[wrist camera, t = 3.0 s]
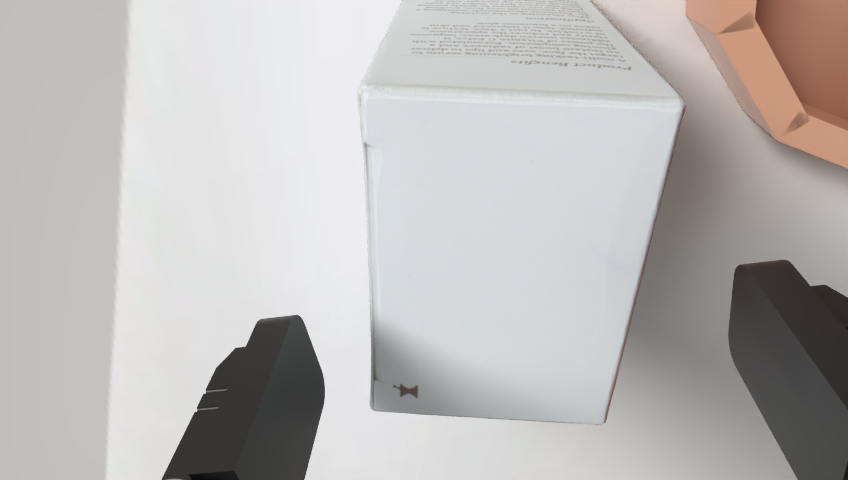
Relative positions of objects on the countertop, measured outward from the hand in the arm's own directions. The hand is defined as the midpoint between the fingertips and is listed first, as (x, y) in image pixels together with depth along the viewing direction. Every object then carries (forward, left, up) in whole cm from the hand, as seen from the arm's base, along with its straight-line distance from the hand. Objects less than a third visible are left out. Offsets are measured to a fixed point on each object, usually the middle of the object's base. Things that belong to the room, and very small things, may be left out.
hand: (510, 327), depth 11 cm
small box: (0, 0, -12) cm, 12 cm away
